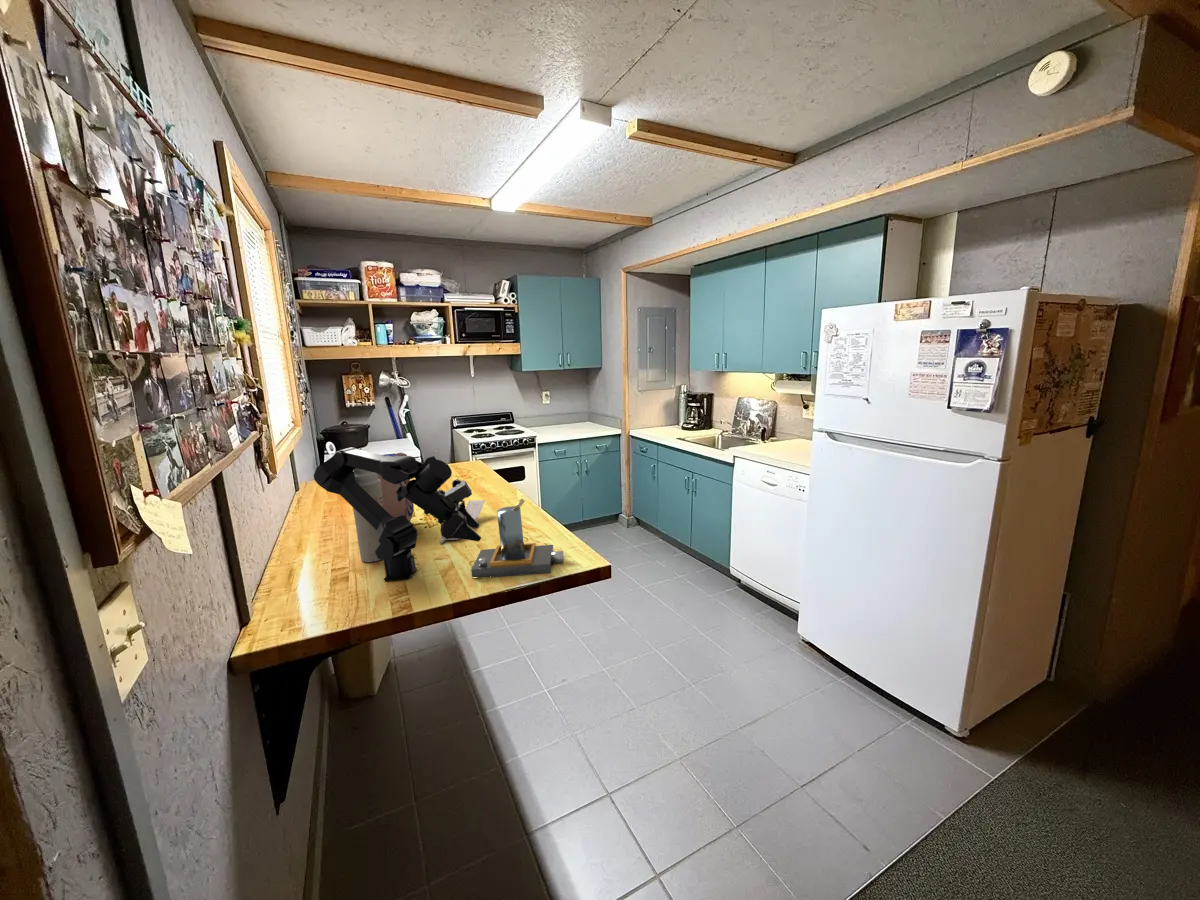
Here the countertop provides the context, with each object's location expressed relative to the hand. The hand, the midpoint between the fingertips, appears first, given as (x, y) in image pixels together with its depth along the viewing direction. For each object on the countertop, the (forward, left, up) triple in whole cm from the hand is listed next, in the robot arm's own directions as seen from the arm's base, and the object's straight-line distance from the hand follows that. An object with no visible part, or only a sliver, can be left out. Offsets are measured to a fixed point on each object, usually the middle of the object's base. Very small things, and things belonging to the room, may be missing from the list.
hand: (479, 533), depth 122 cm
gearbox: (+9, +2, -11) cm, 14 cm away
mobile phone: (-13, +32, -11) cm, 36 cm away
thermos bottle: (-34, +14, -11) cm, 38 cm away
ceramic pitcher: (-38, +36, -11) cm, 54 cm away
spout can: (+8, +2, -8) cm, 11 cm away
